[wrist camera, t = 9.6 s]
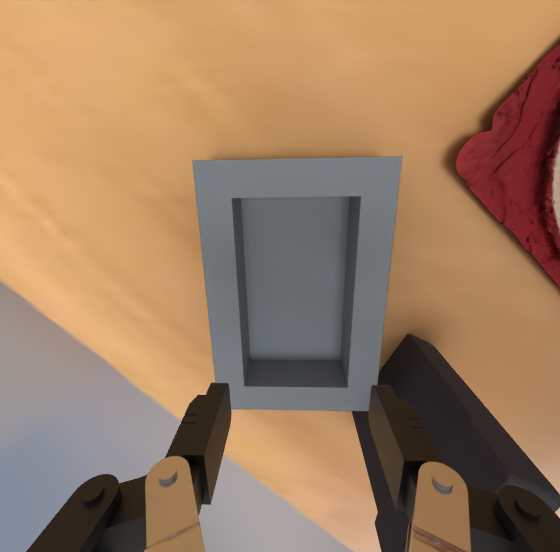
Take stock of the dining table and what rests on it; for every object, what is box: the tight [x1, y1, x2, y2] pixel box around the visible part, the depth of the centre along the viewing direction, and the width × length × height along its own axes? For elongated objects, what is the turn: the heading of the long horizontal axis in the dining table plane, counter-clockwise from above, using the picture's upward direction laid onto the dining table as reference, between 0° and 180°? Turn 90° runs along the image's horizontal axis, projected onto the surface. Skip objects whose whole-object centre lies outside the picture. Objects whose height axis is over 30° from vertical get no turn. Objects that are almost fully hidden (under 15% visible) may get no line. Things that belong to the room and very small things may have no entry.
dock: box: [193, 156, 402, 411], centre depth 25 cm, size 14×21×5 cm, turn 1°
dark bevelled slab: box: [352, 335, 560, 552], centre depth 23 cm, size 11×4×15 cm, turn 153°
